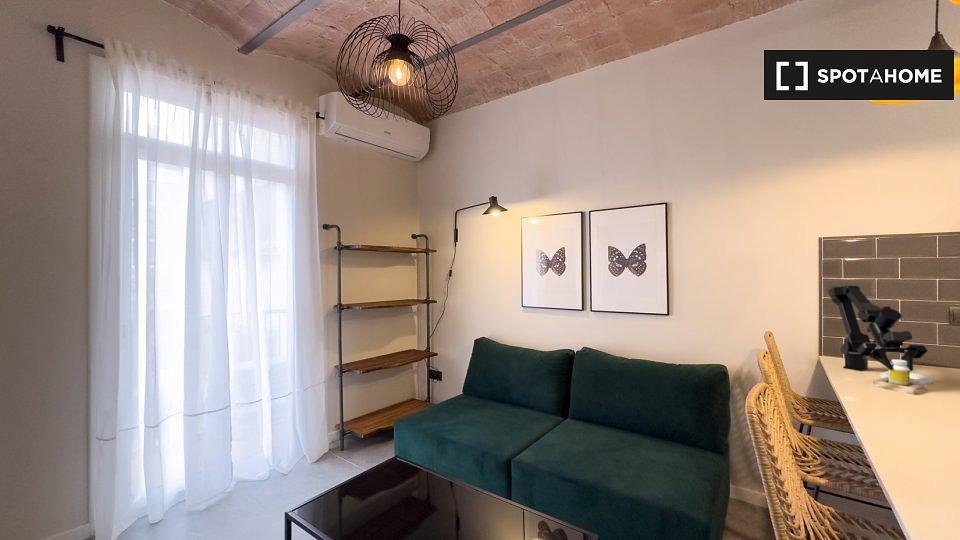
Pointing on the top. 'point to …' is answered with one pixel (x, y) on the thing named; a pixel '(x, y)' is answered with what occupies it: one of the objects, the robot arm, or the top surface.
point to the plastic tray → (912, 378)
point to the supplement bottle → (899, 373)
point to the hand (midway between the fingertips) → (901, 369)
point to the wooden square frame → (900, 386)
